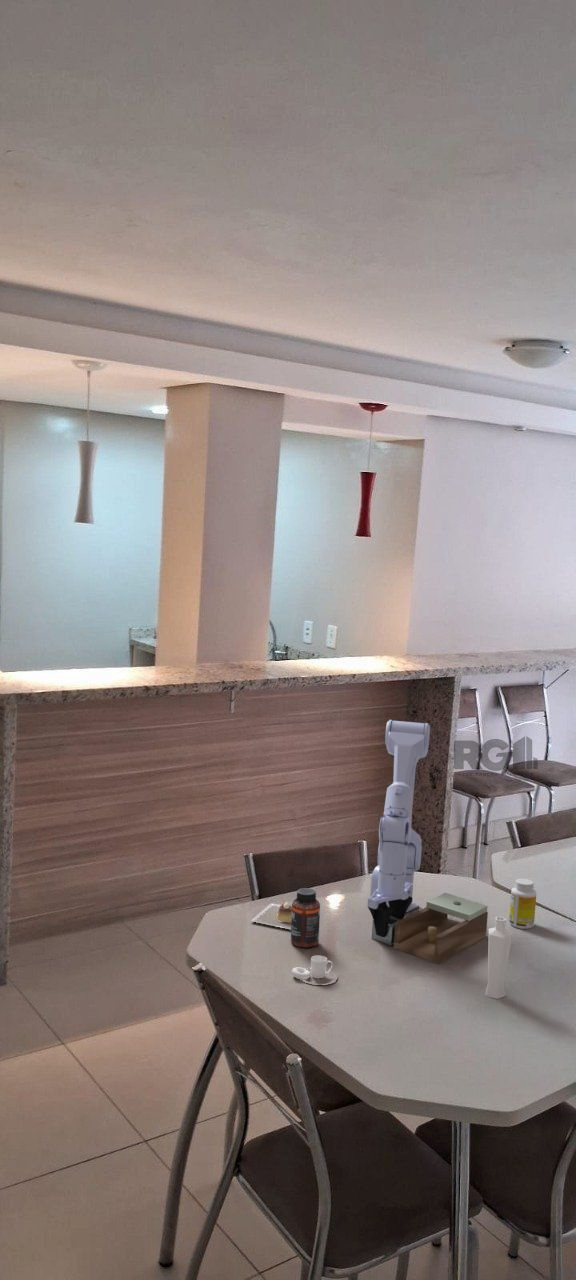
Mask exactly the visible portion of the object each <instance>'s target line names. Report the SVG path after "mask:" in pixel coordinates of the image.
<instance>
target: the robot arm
mask: <svg viewBox="0 0 576 1280" xmlns="http://www.w3.org/2000/svg"><path fill="white" fill-rule="evenodd" d="M430 733H431V726H430V724H429V723H428V722H425V723H423V722H413V721H403V720H402V721H401V720H400V721H399V720H393V719H389V720H388V721H387V722H386V726H385V736H384V739H385V740H384V742H385V743H384V744H385V746H386V747H385V748H386V750H387V754H389V755H392V756H394V758H393V778H392V779H393V781H392V783H391V784H390V785H389V786H387V788H386V794H385V799H384V801H385V802H384V806H383V807H384V809H383V816H381V818H380V821H379V826H378V827H379V828H378V841H379V843H378V848H377V849H378V850H377V860H376V861H377V865H376V866H375V868H374V869H373V871H372V873H371V874H372V875H371V877H370V893H369V897H368V898H367V908H368V910H369V912H370V913H371V916H372V922H373V921H374V925H375V931H376V935H378V936H381V937H386V934H387V930H388V924H389V920H390V916H392V917H395V918H398V919H403V918H405V915H406V914H407V913H408V912H410V911H413V910H414V909H416V908H418V907H419V906H420V904H419V903H416V902H414V901H413V893H414V891H413V890H414V879H415V878H414V875H415V872H417V871H418V870H419V869H420V868H421V862H422V849H423V848H422V838H421V836H420V834H418V833H417V832H416V830H414V829H413V828H412V819H413V804H414V803H413V802H414V793H415V792H414V791H415V780H416V779H415V778H416V767H417V764H418V762H419V760H420V759H422V758H426V757H427V756H428V755H427V754H428V753H429V744H430V736H431V735H430Z"/></svg>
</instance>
